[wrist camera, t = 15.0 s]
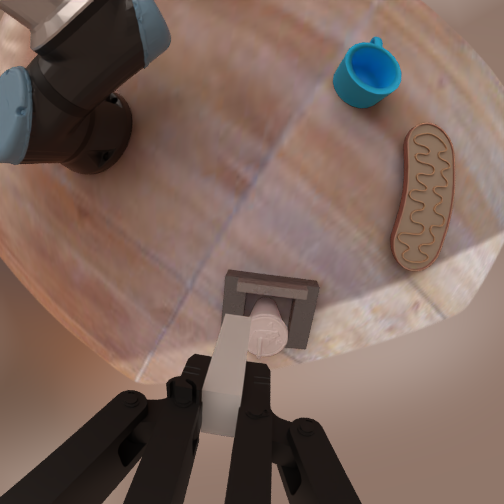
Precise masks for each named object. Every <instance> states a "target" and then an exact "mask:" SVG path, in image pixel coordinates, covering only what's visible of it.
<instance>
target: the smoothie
mask: <svg viewBox="0 0 504 504" xmlns="http://www.w3.org/2000/svg"><path fill="white" fill-rule="evenodd" d="M249 317H252V319H251V327H250V335H249V343H248V351H249V352H250V353H252V354H254V355H257V359H261V356H263V357H266V356H272V355H275V354H277V353H279V352H280V351H281V350H282V349H283V348H284V347H285V345H286V343H287V340H288V330H287V326H286V325H285V323H284V322H283V321H282V319H281V316H280V313H279V310H278V307H277V304H276V302H275V301H274V300H273V299H271V298H268V297H264V298H261V299H259V300H258V301H257V302H256V303H255V305H254V308H253V310H252V312H251V314H250V316H249Z"/></svg>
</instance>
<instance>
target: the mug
mask: <svg viewBox="0 0 504 504" xmlns="http://www.w3.org/2000/svg"><path fill="white" fill-rule="evenodd" d="M382 44H383V43H382V40H381V38H379V37H373V38H372V40H371V41H370V43H365V42H363V43H359V44H355V45H354V46H352V47H351V48H350V49H349V50H348V52H347V54H346V55H345V57H344V59H343V60H342V62H341V63H340V65H339V67H338V68H337V70H336V72H335V74H334V77H333V84H334V89H335V91H336V92H337V94H338V96H339V97H340V98H341V99H342V100H343V101H344V102H346V103H347V104H349V105H351V106H353V107H357V108H368V107H371V106H373V105H375V104H376V103H378V102H379V101H381V100H382V99H383V98H385V97H386V96H388V95H389V94H391V93H392V92H393V91H394V90H396V89H397V88H398V87H399V84H400V82H401V70H400V66H399V64H398V62H397V61H396V59H395V57H394V56H393V55H392V54H391V53H390V52H389V51H387V50H386V49H384V48H383V47H382Z"/></svg>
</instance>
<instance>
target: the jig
mask: <svg viewBox="0 0 504 504" xmlns="http://www.w3.org/2000/svg"><path fill="white" fill-rule="evenodd" d="M319 288H320V287H319V285H318V283H317V281H315V280H306V279H298V278H290V277H282V276H274V275H266V274H258V273H251V272H243V271H236V270H228V272H227V274H226V277H225V288H224V299H223V310H222V322H221V326H222V323H223V320H224V317H225V314H232V315H239V316H244V310H245V302H246V294H247V293H254V294H262V295H269V296H277V297H286V298H293V301H292V307H291V312H290V317H289V322H288V328H287V330H288V340H287V343H286V345H285V347H286V348H296V349H306V346H307V342H308V338H309V333H310V329H311V325H312V320H313V316H314V311H315V307H316V302H317V297H318V293H319Z"/></svg>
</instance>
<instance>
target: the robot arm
mask: <svg viewBox="0 0 504 504" xmlns="http://www.w3.org/2000/svg"><path fill="white" fill-rule="evenodd" d="M0 9H1V10H3V11H4V12H6V13H7V14H8V15H10V16H11V17H13V18H14V19H16V20H17V21H18V22H20V23H21V24H23V25H24V26H25V27H27V28H28V29H30V32H31V42H30V48H31V49H32V50H33V51H34V52H36V53H37V54H38V55H37V56H36V57H35V58H34V59H33V60H32V61H31V63H30V64H29V65H28V66H27V67H26V68H24V67H22V66H18V67H12V68H11V69H8V70H6V71H5V72H4V73H3V74H2V75H1V76H0V163H11V164H13V165H18V164H34V163H61V164H62V165H64V166H65V167H67V168H69V169H70V170H72V171H74V172H77V173H80V174H96V173H100V172H102V171H104V170H106V169H108V168H109V167H111V166H112V165H113V164H114V163H115V162H116V161H117V160H118V159H119V158H120V156H121V155H122V153H123V152H124V150H125V148H126V146H127V144H128V141H129V138H130V135H131V129H132V116H131V111H130V108H129V106H128V104H127V102H126V101H125V100H124V98H123V97H121V96H120V95H119V94H117V93H115V92H114V91H115V90H116V89H117V88H119V87H120V86H121V85H122V84H123V83H125V82H126V81H127V80H128V79H129V78H131V77H132V76H133V75H134V74H136V73H137V72H138V71H140V70H141V69H142V68H144V69H145V68H146V67H147V66H148V65H149V63H150V62H151V61H153V60H154V59H155V58H157V57H158V56H159V55H161V54H162V53H163V52H164V51H166V50H167V48H168V47H169V45H170V42H171V35H170V32H169V29H168V27H167V25H166V22H165V20H164V18H163V16H162V14H161V12H160V11H159V9H158V7H157V5H156V4H155V2H154V0H0ZM251 319H252V317H246V316H239V315H232V314H225V317H224V320H223V323H222V326H221V330H220V333H219V336H218V339H217V343H216V346H215V349H214V352H213V356H212V357H210V356H205V355H199V354H194V355H193V356H191V357H190V358H189V359H188V361H187V363H186V365H185V368H184V370H183V372H182V375H181V376H178V377H174V378H172V379H170V380H169V381H168V382H167V383H166V386H167V398H165V399H160V400H147V399H146V397H145V395H143V394H142V393H140V392H138V391H134V390H127V391H123V392H121V393H120V394H118V395H117V396H116V397H115V398H114V399H112V401H110V402H109V403H108V404H107V405H106V406H105V407H104V408H103V409H101V410H100V411H99V412H98V413H97V414H96V415H95V416H94V417H92V418H91V419H90V420H89V421H88V422H87V423H86V424H84V425H83V427H81V428H80V429H79V430H78V431H77V432H76V433H74V434H73V435H72V436H71V437H70V438H69V439H67V440H66V441H65V442H64V443H63V444H62V445H61V446H59V447H58V448H57V449H56V450H55V451H54V452H53V453H51V454H50V455H49V456H48V457H47V458H46V459H45V460H43V461H42V462H41V463H40V464H39V465H38V466H36V467H35V468H34V469H33V470H32V471H31V472H29V473H28V474H27V475H26V476H25V477H24V478H22V479H21V480H20V481H19V482H18V483H16V485H14V486H13V487H12V488H11V489H10V490H8V491H7V492H6V493H5V494H3V495H2V496H1V497H0V504H102V503H103V502H104V501H105V499H106V498H107V497H108V496H109V495H110V494H111V492H112V491H113V490H114V489H115V488H116V487H117V486H118V484H119V483H120V482H121V481H122V480H123V479H124V477H125V476H126V475H127V474H128V473H129V472H130V470H131V469H132V468H133V467H134V466H135V464H136V463H137V462H138V461H139V460H140V458H141V457H142V459H141V461H140V463H139V466H138V468H137V471H136V473H135V475H134V478H133V481H132V483H131V485H130V488H129V490H128V493H127V495H126V498H125V500H124V503H123V504H183V502H184V498H185V494H186V490H187V486H188V483H189V478H190V475H191V471H192V467H193V463H194V459H195V455H196V451H197V447H198V443H199V433H200V429H201V432H204V433H210V434H215V435H221V436H229V437H234V443H233V449H232V456H231V464H230V470H229V477H228V484H227V490H226V497H225V504H271V472H272V463H275V464H277V467H278V470H279V473H280V476H281V479H282V482H283V485H284V488H285V491H286V494H287V497H288V500H289V503H290V504H362V503H361V502H360V500H359V498H358V496H357V494H356V492H355V490H354V488H353V486H352V484H351V482H350V480H349V478H348V477H347V475H346V473H345V471H344V469H343V467H342V465H341V463H340V461H339V459H338V457H337V455H336V453H335V451H334V449H333V447H332V445H331V444H330V441H329V440H328V438H327V436H326V434H325V432H324V430H323V428H322V426H321V425H320V424H319V423H318V422H317V421H315V420H314V419H310V418H299V419H296V420H294V421H293V422H290V421H286V420H283V419H281V418H279V417H277V416H276V415H275V414H274V413H273V412H272V410H271V408H270V369H269V368H268V366H267V364H263V363H255V362H247V361H246V359H247V351H248V343H249V335H250V327H251Z"/></svg>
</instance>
